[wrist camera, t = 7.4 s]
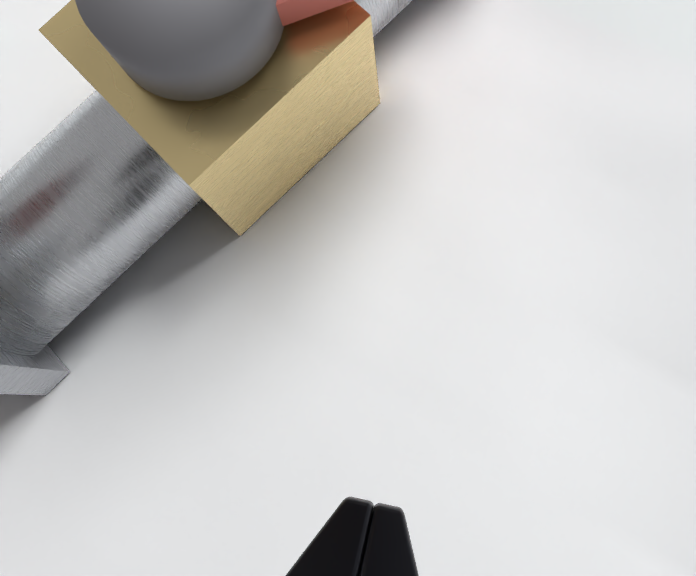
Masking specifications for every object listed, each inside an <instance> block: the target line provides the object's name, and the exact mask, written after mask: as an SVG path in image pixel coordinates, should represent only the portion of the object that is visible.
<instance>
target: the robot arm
mask: <svg viewBox="0 0 696 576" xmlns="http://www.w3.org/2000/svg"><path fill="white" fill-rule="evenodd" d="M286 576H419V575H418V571H417V567H416V562H415V558H414V554H413V549H412V545H411V541H410V536H409V532H408V528H407V523H406V519H405V515H404V512H403V510H402V509H401V508H399V507H395V506H391V505H386V504H382V503H378V504H376V505H375V506H374V505H373V503H372V502H371V501H368V500H363V499H359V498H354V497H347V498H346V499H344V500H343V501H342V503H341V504H340V505H339V506H338V508H337V509H336V510H335V512H334V513H333V514H332V516H331V517H330V518H329V520H328V521H327V522H326V523H325V525H324V526H323V527H322V529H321V530H320V531H319V533H318V534H317V535H316V537H315V538H314V539H313V540H312V542H311V543H310V544H309V546H308V547H307V548H306V550H305V551H304V552H303V554H302V555H301V556H300V557H299V559H298V560H297V561H296V563H295V564H294V565H293V567H292V568H291V569H290V571H289V572H288V573H287V574H286Z"/></svg>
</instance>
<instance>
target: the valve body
mask: <svg viewBox="0 0 696 576" xmlns="http://www.w3.org/2000/svg"><path fill="white" fill-rule="evenodd" d="M411 1H413V0H354V1H351V2H348V3H346V4H343V5H340V6H337V7H335V8H332V9H329V10H326V11H324V12H321V13H318V14H315V15H313V16H310V17H307V18H305V19H302V20H299V21H296V22H294V23H291V24H288V25H285V26H284V29H283V33H282V36H281V39H280V41H279V44H278V46H277V48H276V50H275V52H274V53H273V55H272V56H271V58H270V60H269V61H268V62H267V63H266V64H265V66H264V67H263V68H262V69H261V70H260V71H259V72H258V73H257V74H256V75H255V76H254V77H253V78H251V79H250V80H249V81H247V82H246V83H245V84H243V85H242V86H240V87H238V88H237V89H235V90H233V91H231V92H228V93H226V94H224V95H221V96H218V97H215V98H211V99H206V100H200V101H178V100H172V99H167V98H163V97H160V96H158V95H155V94H153V93H151V92H149V91H147V90H145V89H144V88H142V87H141V86H139V85H138V84H137V83H135V82H134V81H133V80H132V79H131V78H130V77H129V76H128V75H127V73H126V72H125V71H124V70H123V69H122V67H121V66H120V65H119V64H118V63H117V62H116V60H115V59H114V58H113V57H112V56H111V55H110V53H109V52H108V51H107V50H106V49H105V48H104V46H103V45H102V44H101V43H100V42H99V41H98V39H97V38H96V37H95V36H94V35H93V34H92V32H91V31H90V30H89V28H88V27H87V26H86V24H85V23H84V21H83V19H82V17H81V15H80V14H79V11H78V8H77V5H76V2H75V0H71V1H70V2H69V3H68V4H67V5H66V6H65V7H63V8H62V9H61V10H60V11H59V12H58V13H57V14H56V15H55V16H53V17H52V18H51V19H50V20H49V21H48V22H47V23H46V24H45V25H43V26H42V27H41V28H40V29H39V31H40V32H41V33H42V34H43V35H44V36H45V37H46V38H47V39H48V40H49V42H50V43H51V44H52V45H53V46H54V47H55V48H56V49H57V50H58V51H59V52H60V53H61V54H62V55H63V56H64V57H65V58H66V59H67V60H68V61H69V62H70V63H71V64H72V65H73V66H74V67H75V68H76V69H77V70H78V71H79V73H80V74H81V75H82V76H83V77H84V78H85V79H86V80H87V81H88V82H89V83H90V84H91V85H92V86H93V87H94V88H95V89H96V91H95V92H94V93H93V94H92V95H91V96H89V97H88V98H87V99H86V100H85V101H84V102H83V103H82V104H81V105H80V106H79V107H77V108H76V109H75V110H74V111H73V112H72V113H71V114H70V115H69V116H68V117H66V118H65V119H64V120H63V121H62V122H61V123H60V124H59V125H58V126H57V127H56V128H54V129H53V130H52V131H51V132H50V133H49V134H48V135H47V136H46V137H45V138H44V139H42V140H41V141H40V142H39V143H38V144H37V145H36V146H35V147H34V148H33V149H32V150H30V151H29V152H28V153H27V154H26V155H25V156H24V157H23V158H22V159H21V160H19V161H18V162H17V163H16V164H15V165H14V166H13V167H12V168H11V169H10V170H9V171H7V172H6V173H5V174H4V175H3V176H2V177H1V178H0V394H19V395H46V394H47V393H48V392H50V391H51V390H52V389H53V388H54V387H55V386H56V385H57V384H58V383H59V382H60V381H61V380H62V379H63V378H64V377H65V376H66V375H67V374H69V373H70V371H69V370H68V369H67V368H66V366H65V365H64V364H63V363H62V362H61V360H60V359H59V358H58V357H57V356H56V355H55V353H54V352H53V351H52V350H51V349H50V347H49V346H48V345H47V344H48V343H49V342H50V341H51V340H52V339H53V338H55V337H56V336H57V335H58V334H59V333H60V332H61V331H62V330H63V329H64V328H65V327H66V326H67V325H68V324H69V323H70V322H72V321H73V320H74V319H75V318H76V317H77V316H78V315H79V314H80V313H81V312H82V311H83V310H84V309H85V308H86V307H87V306H89V305H90V304H91V303H92V302H93V301H94V300H95V299H96V298H97V297H98V296H99V295H100V294H101V293H102V292H103V291H104V290H106V289H107V288H108V287H109V286H110V285H111V284H112V283H113V282H114V281H115V280H116V279H117V278H118V277H119V276H120V275H121V274H123V273H124V272H125V271H126V270H127V269H128V268H129V267H130V266H131V265H132V264H133V263H134V262H135V261H136V260H137V259H138V258H140V257H141V256H142V255H143V254H144V253H145V252H146V251H147V250H148V249H149V248H150V247H151V246H152V245H153V244H154V243H155V242H157V241H158V240H159V239H160V238H161V237H162V236H163V235H164V234H165V233H166V232H167V231H168V230H169V229H170V228H171V227H172V226H174V225H175V224H176V223H177V222H178V221H179V220H180V219H181V218H182V217H183V216H184V215H185V214H186V213H187V212H188V211H189V210H191V209H192V208H193V207H194V206H195V205H196V204H197V203H198V202H199V201H200V200H201V199H203V200H204V201H205V202H206V203H207V204H208V205H209V206H210V207H211V208H212V209H213V210H214V211H215V212H216V213H217V214H218V215H219V216H220V217H221V218H222V219H223V220H224V221H225V222H226V223H227V224H228V225H229V226H230V227H231V228H232V229H233V230H234V231H235V232H236V233H237V234H238V235H239V236H241V235H242V234H243V233H244V232H245V231H246V230H247V229H248V228H249V227H250V226H251V225H253V224H254V223H255V222H256V221H257V220H258V219H259V218H260V217H261V216H262V215H263V214H264V213H265V212H266V211H267V210H268V209H269V208H270V207H271V206H272V205H274V204H275V203H276V202H277V201H278V200H279V199H280V198H281V197H282V196H283V195H284V194H285V193H286V192H287V191H288V190H289V189H290V188H291V187H292V186H294V185H295V184H296V183H297V182H298V181H299V180H300V179H301V178H302V177H303V176H304V175H305V174H306V173H307V172H308V171H309V170H310V169H311V168H312V167H314V166H315V165H316V164H317V163H318V162H319V161H320V160H321V159H322V158H323V157H324V156H325V155H326V154H327V153H328V152H329V151H330V150H331V149H332V148H333V147H335V146H336V145H337V144H338V143H339V142H340V141H341V140H342V139H343V138H344V137H345V136H346V135H347V134H348V133H349V132H350V131H351V130H352V129H353V128H355V127H356V126H357V125H358V124H359V123H360V122H361V121H362V120H363V119H364V118H365V117H366V116H367V115H368V114H369V113H370V112H371V111H372V110H373V109H374V108H376V107H377V106H378V105H379V104H380V98H379V88H378V79H377V69H376V60H375V51H374V41H373V37H374V36H375V35H376V34H377V33H379V32H380V31H381V30H382V29H383V28H384V27H385V26H386V25H387V24H388V23H389V22H390V21H391V20H392V19H393V18H394V17H396V16H397V15H398V14H399V13H400V12H401V11H402V10H403V9H404V8H405V7H406V6H407V5H408V4H409V3H410V2H411Z"/></svg>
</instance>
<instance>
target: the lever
mask: <svg viewBox="0 0 696 576" xmlns="http://www.w3.org/2000/svg"><path fill="white" fill-rule="evenodd" d="M351 1H354V0H75V2H76V5H77V8H78V11H79V14H80V15H81V17H82V19H83V21H84V23H85V24H86V26H87V27H88V28H89V30H90V31H91V32H92V34H93V35H94V36H95V37H96V38H97V39H98V41H99V42H100V43H101V44H102V45H103V46H104V48H105V49H106V50H107V51H108V52H109V53H110V55H111V56H112V57H113V58H114V59H115V60H116V62H117V63H118V64H119V65H120V66H121V67H122V69H123V70H124V71H125V72H126V73H127V75H128V76H129V77H130V78H131V79H132V80H133V81H134V82H135V83H137V84H138V85H139V86H141V87H142V88H144V89H145V90H147V91H149V92H151V93H153V94H155V95H158V96H160V97H163V98H167V99H172V100H178V101H200V100H206V99H211V98H215V97H218V96H221V95H224V94H226V93H228V92H231V91H233V90H235V89H237V88H238V87H240V86H242V85H243V84H245V83H246V82H247V81H249V80H250V79H251V78H253V77H254V76H255V75H256V74H257V73H258V72H259V71H260V70H261V69H262V68H263V67H264V66H265V64H266V63H267V62H268V61H269V60H270V58H271V56H272V55H273V53H274V52H275V50H276V48H277V46H278V44H279V41H280V39H281V36H282V33H283V29H284V26H285V25H288V24H291V23H294V22H296V21H299V20H302V19H305V18H307V17H310V16H313V15H315V14H318V13H321V12H324V11H326V10H329V9H332V8H335V7H337V6H340V5H343V4H346V3H348V2H351Z"/></svg>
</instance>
